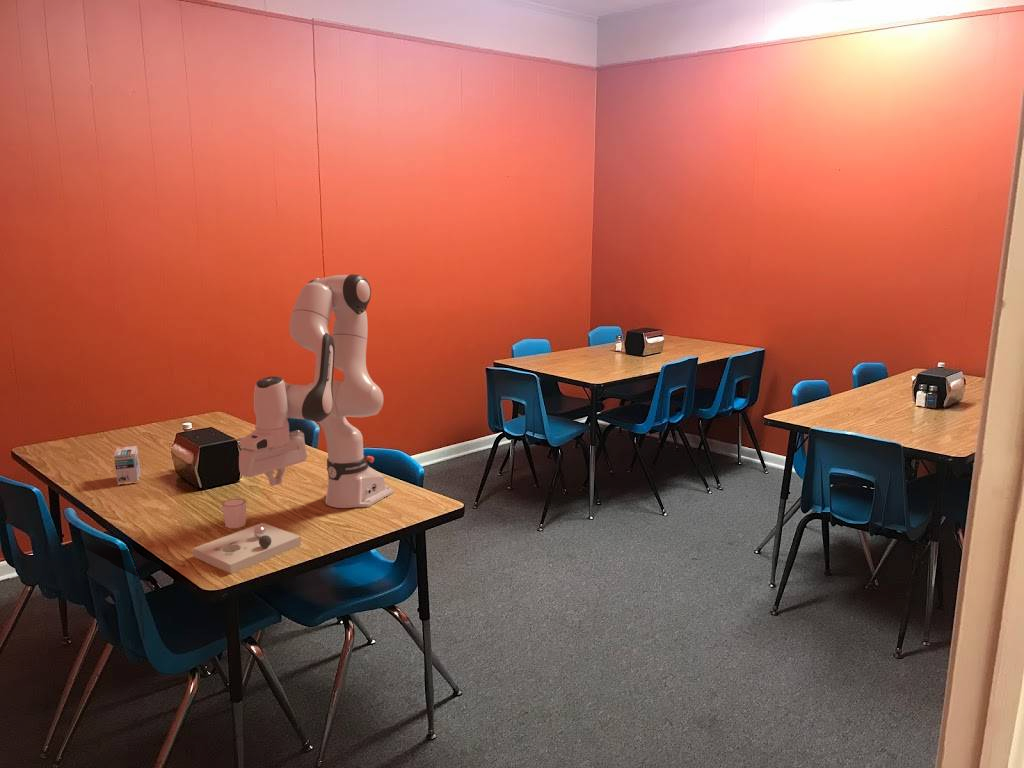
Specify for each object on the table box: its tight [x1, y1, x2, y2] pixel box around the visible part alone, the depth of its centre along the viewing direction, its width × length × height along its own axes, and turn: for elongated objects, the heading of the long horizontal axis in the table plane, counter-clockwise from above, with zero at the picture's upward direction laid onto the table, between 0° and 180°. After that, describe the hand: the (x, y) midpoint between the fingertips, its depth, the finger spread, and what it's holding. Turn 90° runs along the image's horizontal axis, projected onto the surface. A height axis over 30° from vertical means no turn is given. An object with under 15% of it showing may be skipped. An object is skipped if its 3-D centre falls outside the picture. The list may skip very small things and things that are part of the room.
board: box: [192, 522, 302, 575], centre depth 211 cm, size 22×17×2 cm
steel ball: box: [254, 526, 266, 538], centre depth 213 cm, size 3×3×3 cm
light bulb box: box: [113, 445, 141, 483], centre depth 268 cm, size 11×7×11 cm, turn 22°
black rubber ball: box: [259, 535, 271, 547], centre depth 207 cm, size 3×3×3 cm
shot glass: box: [221, 498, 247, 529], centre depth 229 cm, size 7×7×7 cm
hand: (275, 484), depth 216 cm, fingers closed
